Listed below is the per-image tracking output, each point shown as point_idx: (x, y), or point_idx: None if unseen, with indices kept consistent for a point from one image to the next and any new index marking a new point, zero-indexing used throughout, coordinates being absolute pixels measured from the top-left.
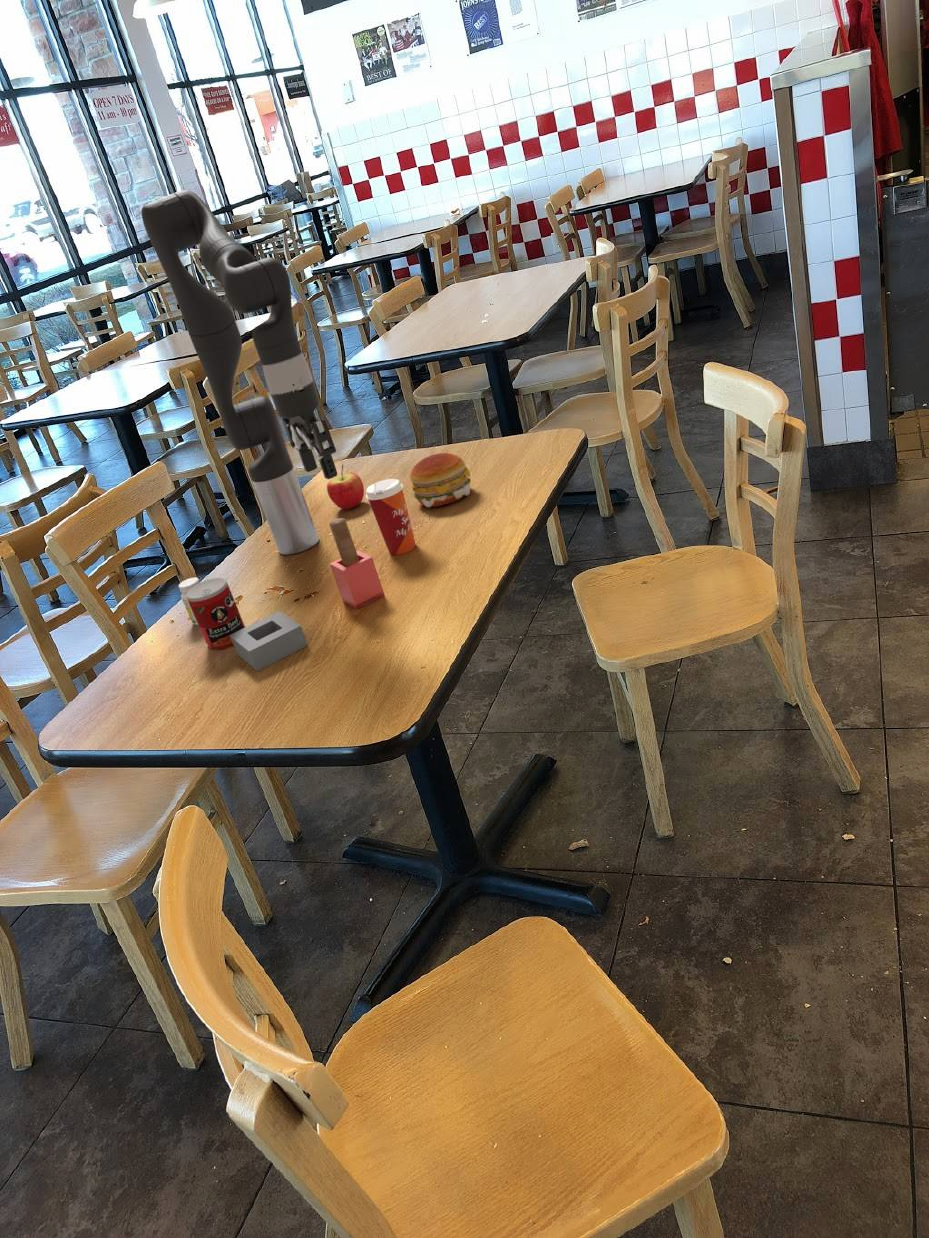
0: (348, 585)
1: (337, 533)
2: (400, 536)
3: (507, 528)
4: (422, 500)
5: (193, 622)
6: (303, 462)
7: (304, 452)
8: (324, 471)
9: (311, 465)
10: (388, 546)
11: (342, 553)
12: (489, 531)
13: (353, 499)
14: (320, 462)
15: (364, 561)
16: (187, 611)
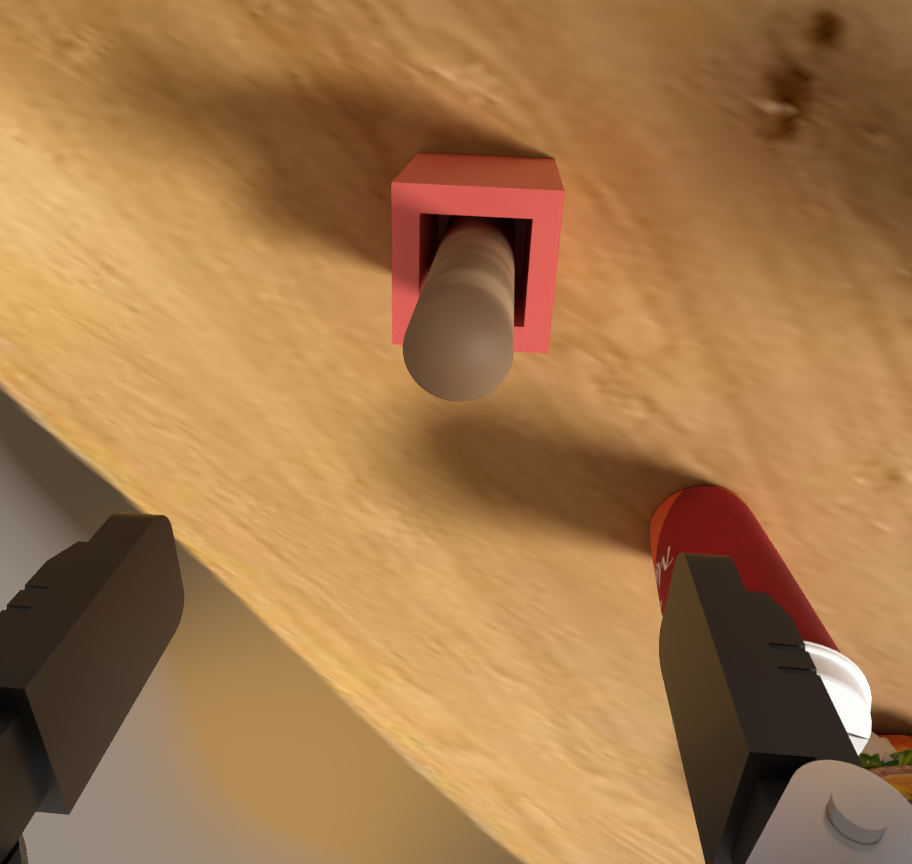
0: (405, 169)
1: (427, 293)
2: (661, 553)
3: (442, 716)
4: (892, 750)
5: None
6: (714, 634)
7: (733, 789)
8: (72, 567)
9: (677, 644)
10: (713, 502)
11: (449, 250)
12: (482, 691)
13: None
14: (11, 652)
15: (392, 302)
16: None
